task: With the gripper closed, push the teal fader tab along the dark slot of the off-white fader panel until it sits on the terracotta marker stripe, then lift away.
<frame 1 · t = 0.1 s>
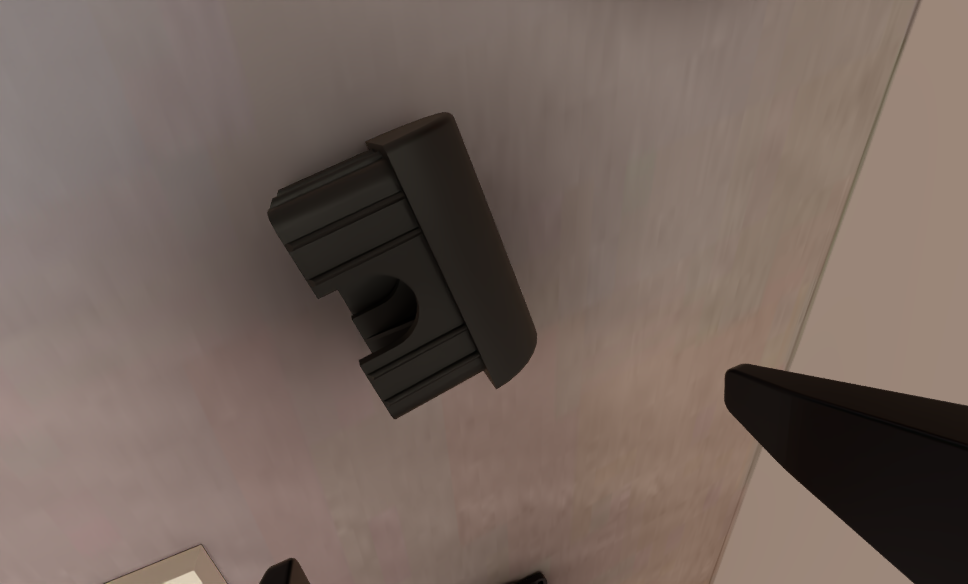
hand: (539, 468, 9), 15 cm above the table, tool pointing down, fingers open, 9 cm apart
end cap: (402, 246, 21), on the table
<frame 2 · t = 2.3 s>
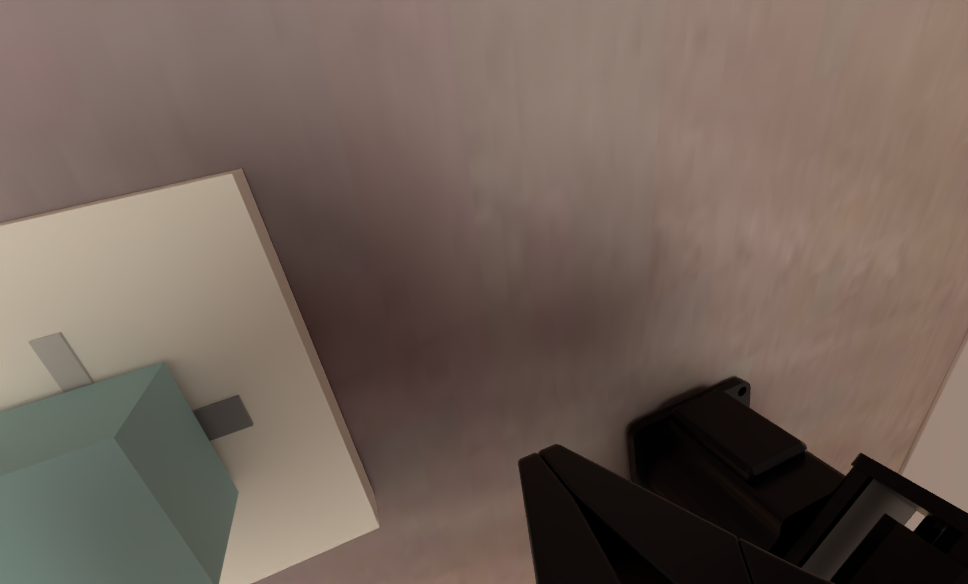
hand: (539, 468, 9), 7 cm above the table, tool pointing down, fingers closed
fader tab: (92, 506, 10), point 3 cm above the table, slide at -7.0 cm
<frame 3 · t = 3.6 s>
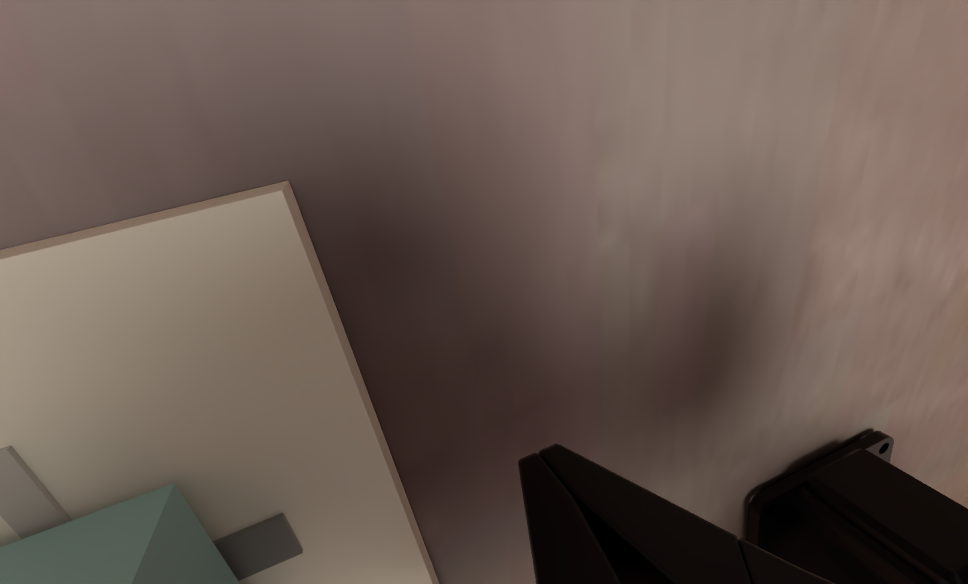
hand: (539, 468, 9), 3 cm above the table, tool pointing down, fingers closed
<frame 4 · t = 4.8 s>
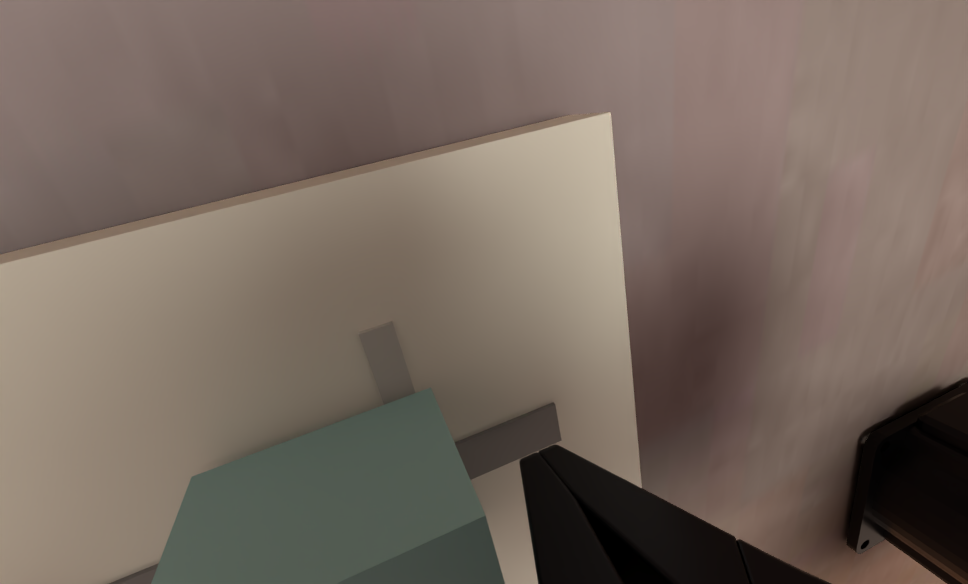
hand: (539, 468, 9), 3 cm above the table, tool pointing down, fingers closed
fader panel: (73, 564, 9), on the table
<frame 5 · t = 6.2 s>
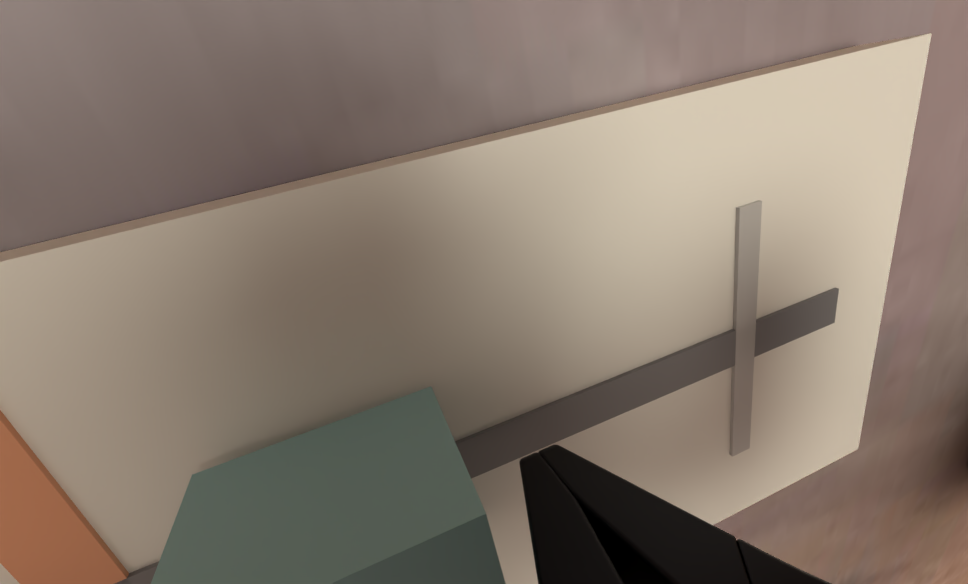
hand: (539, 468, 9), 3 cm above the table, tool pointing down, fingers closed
fader panel: (458, 412, 11), on the table
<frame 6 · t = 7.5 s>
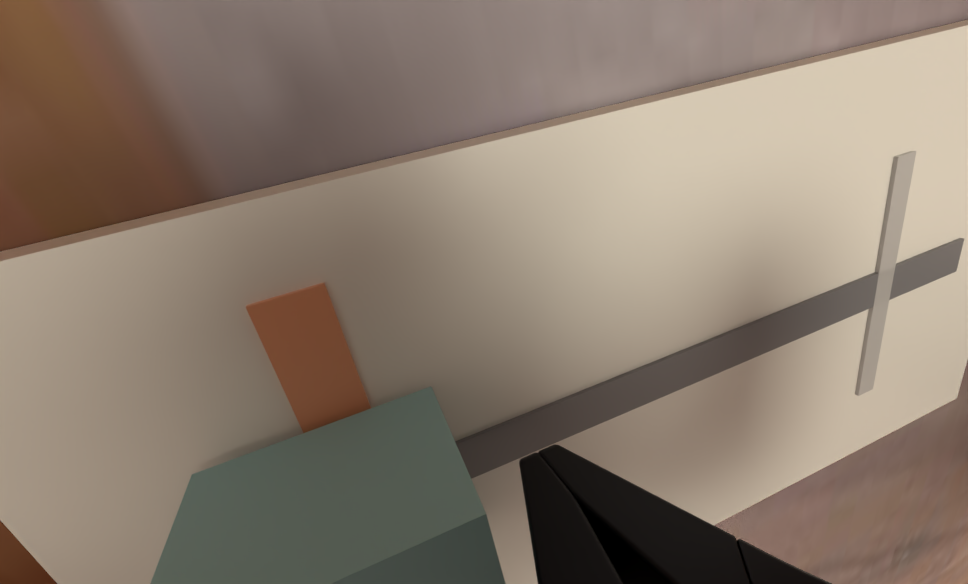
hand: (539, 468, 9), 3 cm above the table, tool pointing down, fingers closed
fader panel: (625, 347, 12), on the table
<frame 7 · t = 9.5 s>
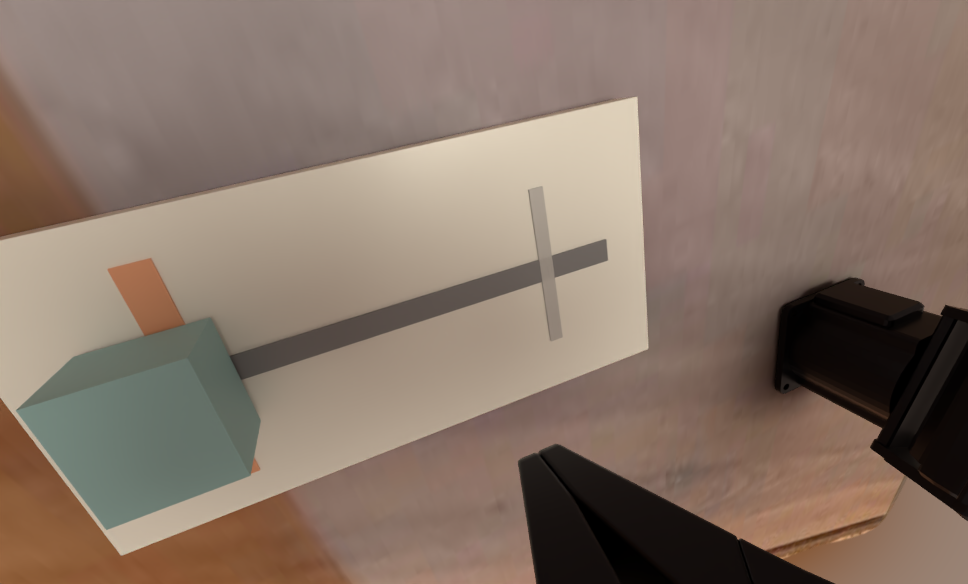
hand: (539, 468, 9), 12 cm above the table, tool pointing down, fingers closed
fader panel: (381, 305, 19), on the table
fader tab: (161, 416, 14), point 3 cm above the table, slide at 7.5 cm
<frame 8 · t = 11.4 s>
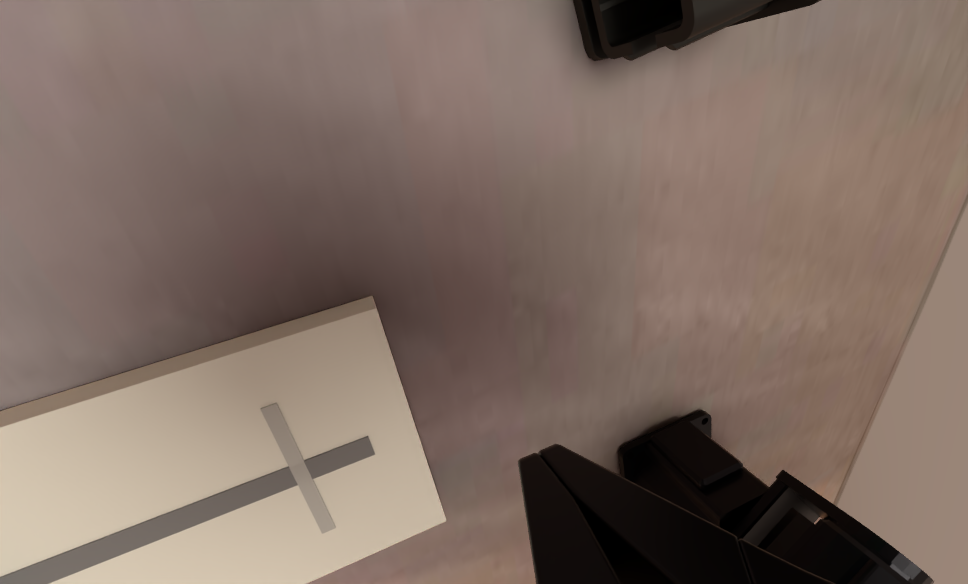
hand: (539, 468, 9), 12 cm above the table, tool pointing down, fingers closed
fader panel: (129, 514, 18), on the table
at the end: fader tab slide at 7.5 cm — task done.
